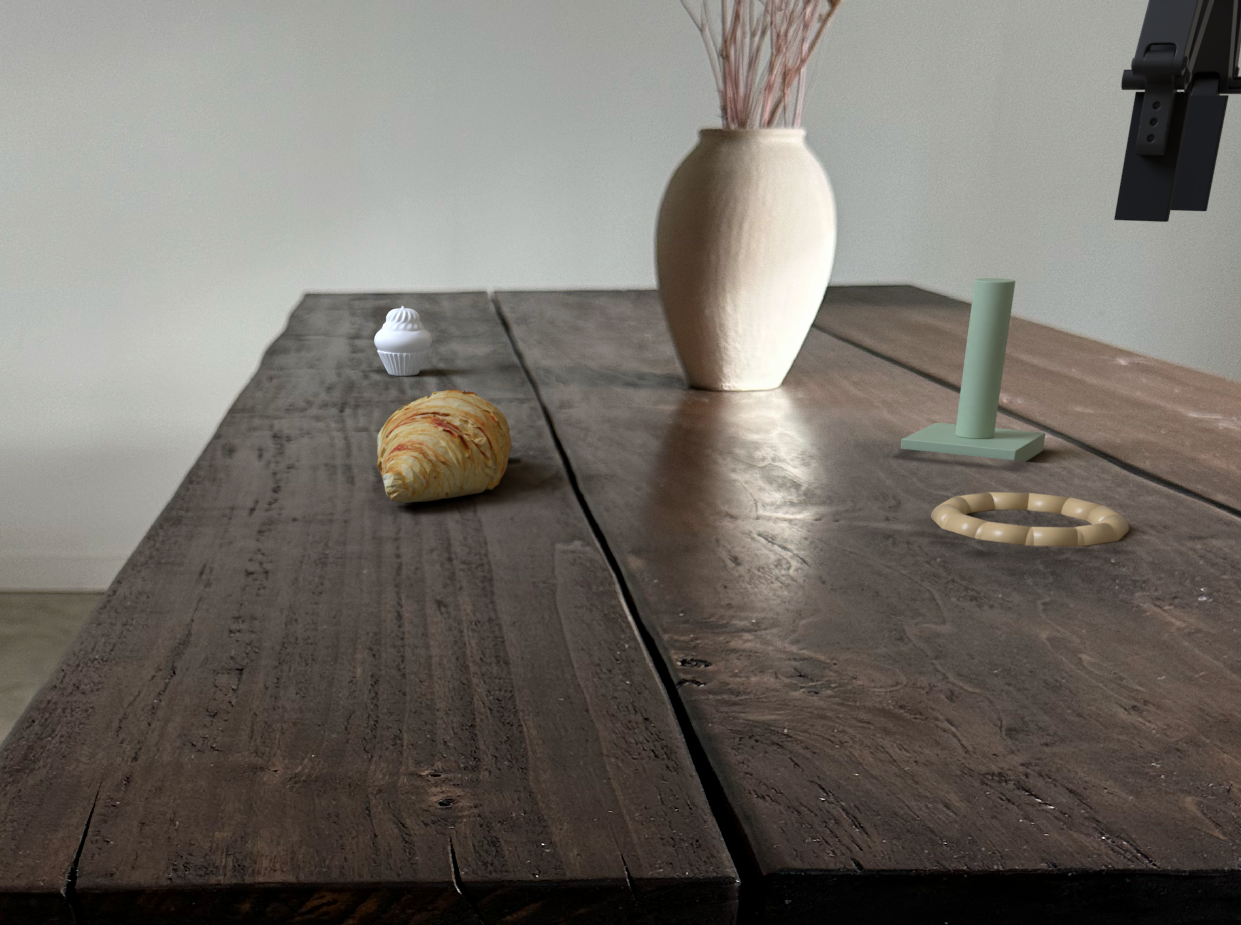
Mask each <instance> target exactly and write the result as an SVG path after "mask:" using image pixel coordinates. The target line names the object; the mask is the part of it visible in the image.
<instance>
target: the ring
mask: <svg viewBox="0 0 1241 925" xmlns="http://www.w3.org/2000/svg"><path fill="white" fill-rule="evenodd" d="M993 510H995V511H996V510H997V511H1000V510H1001V511H1002V510H1003V511H1004V510H1006V511H1009V510H1010V511H1032V512H1042V513H1048V514H1049V513H1051V514H1058V515H1064V516H1067V517H1071V518H1076V519H1079V520H1083V521H1086V522H1088V523H1090V524H1087V525H1080V526H1073V527H1067V526H1028V525H1027V526H1026V525H1019V524H1011V523H1003V522H997V521H996V522H994V521H988V520H985V519H981V518H979V517H978V518H977V517H974V516H971V515H969V514H972V513H978V512H987V511H993ZM930 519H931V520H932V521H933V522H934V523H936V525H937V526H938V527H939V528H940V529H942V530H946V531H948V532H952V533H955V534H959V535H962V536H966V537H969V538H973V539H976V540H981V541H988V542H989V541H990V542H997V543H1005V544H1010V545H1011V544H1013V545H1019V546H1026V547H1028V546H1029V547H1086V546H1094V545H1101V544H1107V543H1112V542H1118V541H1120V540H1121V539H1122V538H1123V537H1124V536H1125V535H1126V534H1127V533H1128V532H1129V530H1130V527H1129V526H1130V525H1129V523H1128V521H1127V519H1126V518H1125V517H1124V516H1122V515H1121V514H1119V513H1118V512H1116V511H1115V510H1114V509H1112V508H1110V507H1109V506H1107V505H1103V504H1099V503H1095V502H1091V501H1088V500H1084V499H1079V498H1074V497H1071V496H1070V497H1069V496H1063V495H1062V496H1060V495H1052V494H1045V493H1044V494H1043V493H1037V492H1000V491H999V492H998V491H995V492H992V491H991V492H990V491H987V492H986V491H985V492H978V493H970V494H964V495H955V496H952V497H949V499H947V500H945V501H944V502H942V503H940V504H939V505H937V506H936V507H934V509H933V510H932V512H931V514H930Z"/></svg>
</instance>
